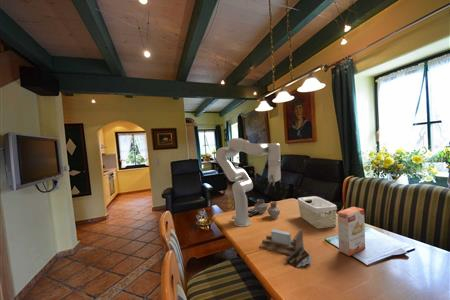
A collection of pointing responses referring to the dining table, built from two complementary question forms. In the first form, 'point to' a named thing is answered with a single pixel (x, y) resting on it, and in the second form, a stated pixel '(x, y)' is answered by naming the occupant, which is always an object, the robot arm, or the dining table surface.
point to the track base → (283, 248)
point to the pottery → (272, 210)
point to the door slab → (281, 237)
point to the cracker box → (351, 230)
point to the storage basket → (318, 212)
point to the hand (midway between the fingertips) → (275, 190)
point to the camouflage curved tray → (299, 257)
